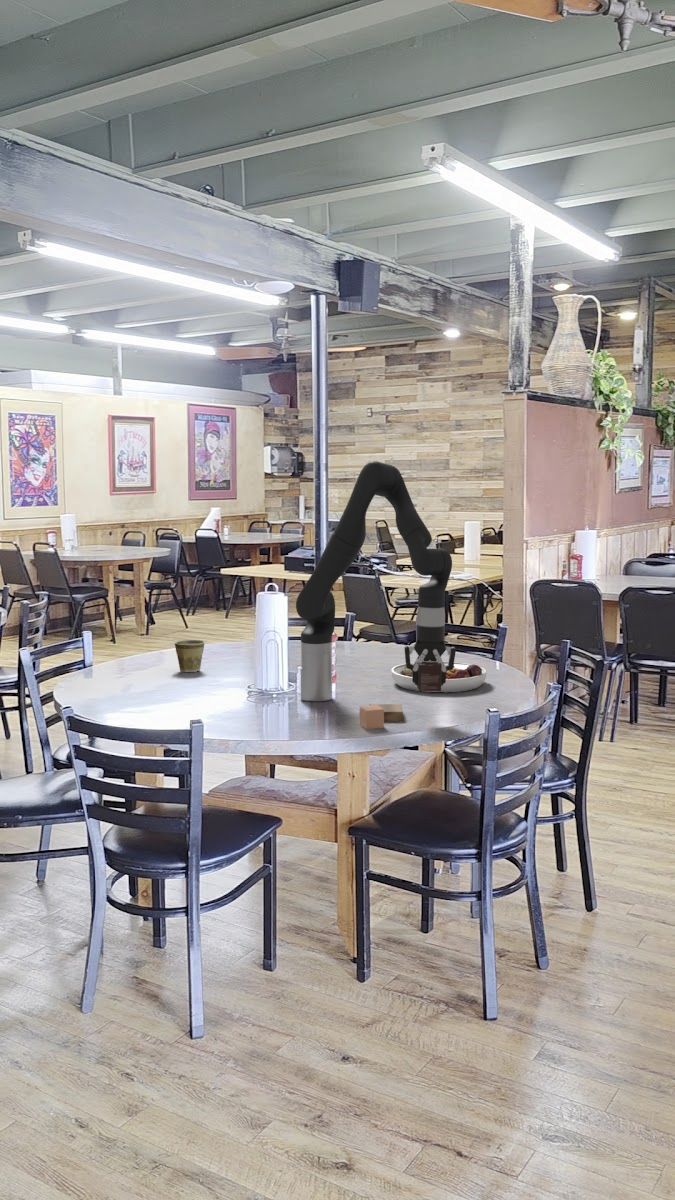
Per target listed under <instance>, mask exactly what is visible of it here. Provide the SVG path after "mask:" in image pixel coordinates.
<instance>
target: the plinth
mask: <svg viewBox="0 0 675 1200" xmlns="http://www.w3.org/2000/svg"><path fill="white" fill-rule="evenodd" d="M374 705H378V706H379V707H381V708H383V709H384V722H404V711H403V706H402V704H400V703H395V704H394V703H388V704H387V703H386V704H385V703H384V704H383V703H382V704H381V703H373V704H372V703H369V704H368V706H374Z"/></svg>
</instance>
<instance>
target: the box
mask: <svg viewBox="0 0 675 1200" xmlns="http://www.w3.org/2000/svg"><path fill="white" fill-rule="evenodd" d="M441 672H442V665H441V664H439V663H438V661H424V660H423V661H422V663H421V664H419V668H418V685H417V688H418V690H419V691H418V692H420V691H441Z"/></svg>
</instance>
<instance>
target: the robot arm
mask: <svg viewBox="0 0 675 1200" xmlns="http://www.w3.org/2000/svg"><path fill="white" fill-rule="evenodd" d="M375 496H378V497H384V498H385V499H386V500H387V502H389V504H390V505H391V506H392V508H393V510H394V513H395V524H396V525H395V526H396V529H397V531H398V533H399V535H400V536H401V538H402V539H403V542H404V543H405V545H406V546H407V550H408V553H409V557H410V558H409V559H410V561H411V565H412V568H413V571H415V572H416V574H418V575H420V576H425V577H426V576H430V579H429V581H428V582H427V583H426V582H425V583H423V584H422V585H420V586H419V588H418V598H417V613H416V620H415V621H416V627H415V628H416V631H415V633H416V634H415V635H416V636H415V637H416V638H415V644H414V645H404V649H403V650H404V658H405V664H406V668H407V669H411V670H412V681H413V683H415V685H418V668H419V664H421V663H422V661H438V663H439V664H441V665H442V672H441V686H443V683H444V684H445V682H446V672H447V671H448V670H452V669H453V666H454V662H455V659H456V652H457V650H456V647H455V646H446V644H445V629H446V628H445V627H446V612H445V603H446V602H445V599H446V598H445V596H446V595H445V593H446V589H447V587H448V583H449V579H450V576H451V573H452V568H453V559H452V556H451V553H450V552H449V551H448V550H447V549H446V548H441V547H439V548H428V547H429V546H430V545H431V543H432V540H433V538H432V534H431V533H430V531H429V530H428V528H427V526H426V524H425V522H424V521H423V519H422V517H421V516H420V515H419V513H418V511H417V510H416V508H415V504H414V503H413V501H412V497H411V495H410V493H409V490H408V488H407V486H406V482H405V481H404V478H403V476H402V473H401V471H400V470H399V469H398V468H397V467H396V466H393V465H392V464H388V463H385V462H381V461H378V460H371V461H368V462H367V463H365V465H363V467H362V468H361V471H360V472H359V474H358V476H357V479H356V480H355V484H354V487H353V488H352V492H351V494H350V497H349V500H348V502H347V504H346V506H345V507H344V511H343V512H342V515H341V516H340V519H339V521H338V523H337V525H335V528H334V529H333V532H332V534H331V536H330V538H329V540H328V542H327V544H326V546H325V548H324V549H323V552H322V554H321V556H320V558H319V560H318V562H317V564H316V566H315V568H314V570H313V572H312V574H311V575H310V576H309V578H308V580H307V581H306V582H305V585H304V586H303V587H302V589H301V591H300V592H299V594H298V596H297V598H296V602H295V609H296V612H297V615H298V616H299V617H300V618H301V619H302V620H305V621H306V625H305V627H304V629H303V630H302V631H301V633H300V701H307V702H326V701H330V700H332V699H333V658H332V657H333V635H334V632H335V624H336V623H335V622H336V619H335V618H336V601H335V597H334V594H333V592H332V591H331V590H332V588H333V587H334V586H335V583H336V582H337V581H338V579H340V577H341V576H342V575H343V574H344V573H345V572H346V571H347V570H348V569H349V567H351V566H352V564H353V563H354V561H355V559H357V557H358V555H359V552H360V551H361V549H362V547H363V545H364V544H365V540H366V532H367V529H366V528H367V527H366V516H367V511H368V510H369V506H370V504H371V503H372V500H373V499H374V497H375ZM413 651H415V653H416V654H417V657H416V660H415V661H414V662H415V663H414V662H413V663H414V665H412V664H410V663H411V655H412V654H413ZM445 652H447V653H446V654H447V655H448V656H449V657H448V661H447V662H448V665H446V666H445V665H444V663H443V662H444V661H443V659H442V655H443V654H444V653H445Z"/></svg>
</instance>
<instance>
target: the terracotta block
mask: <svg viewBox="0 0 675 1200" xmlns="http://www.w3.org/2000/svg"><path fill="white" fill-rule="evenodd" d="M359 725H360V726H361V727H362V728H363V729H365V730H368V729H370V730H371V729H384V728H385V721H384V709H383V708H381V707H379V706H378V705H374V706H369V705H366V706H365V705H362V706H359Z"/></svg>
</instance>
